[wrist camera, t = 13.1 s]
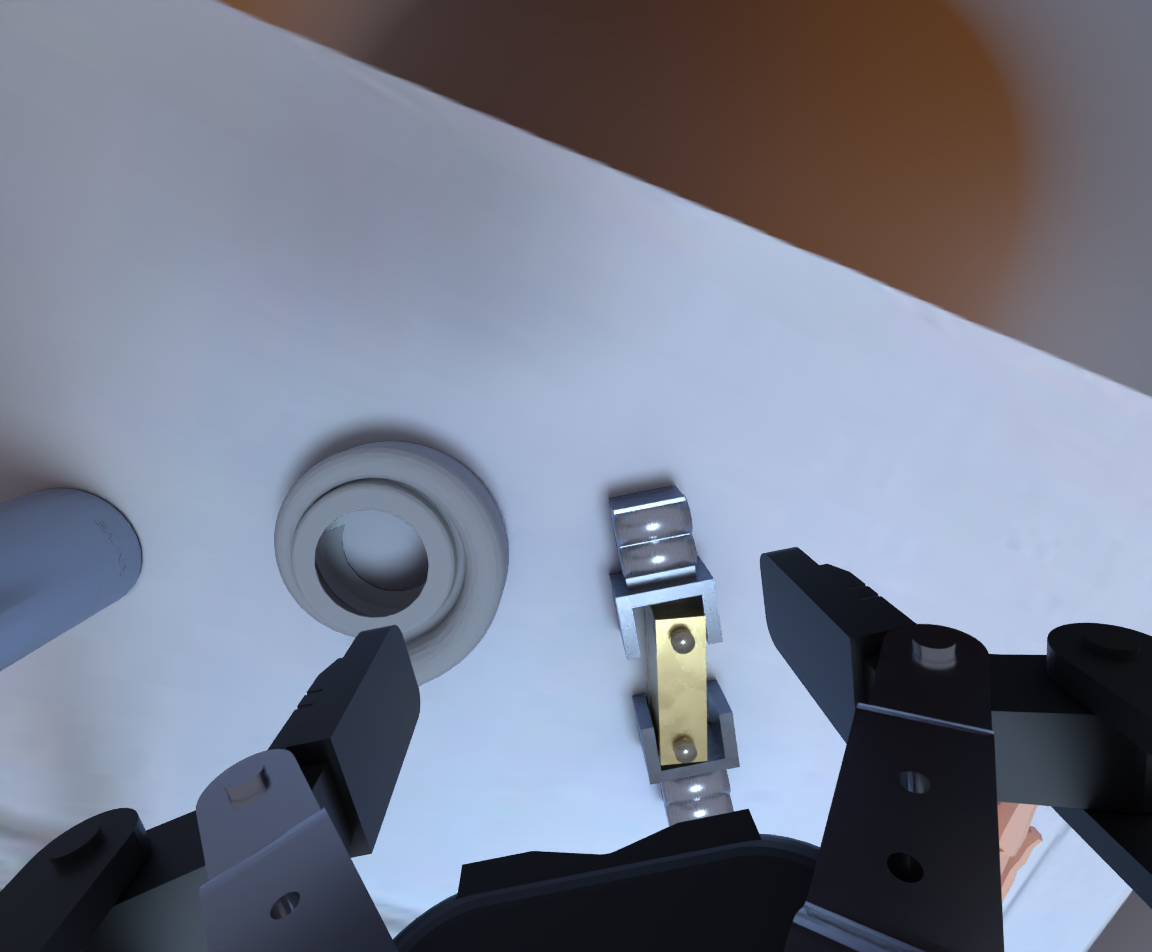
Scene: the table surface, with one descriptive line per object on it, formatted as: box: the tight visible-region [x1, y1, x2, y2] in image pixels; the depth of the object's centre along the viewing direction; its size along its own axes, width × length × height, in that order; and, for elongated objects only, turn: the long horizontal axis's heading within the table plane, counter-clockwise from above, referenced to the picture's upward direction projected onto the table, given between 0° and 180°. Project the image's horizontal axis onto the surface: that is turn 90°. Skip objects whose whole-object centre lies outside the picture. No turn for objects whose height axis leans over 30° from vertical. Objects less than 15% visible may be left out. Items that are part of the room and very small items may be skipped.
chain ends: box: [609, 485, 740, 827], centre depth 42 cm, size 7×28×4 cm, turn 11°
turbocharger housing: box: [274, 441, 509, 686], centre depth 39 cm, size 17×6×15 cm
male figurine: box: [997, 802, 1043, 902], centre depth 48 cm, size 11×5×25 cm
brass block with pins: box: [645, 596, 707, 765], centre depth 42 cm, size 4×12×6 cm, turn 4°
